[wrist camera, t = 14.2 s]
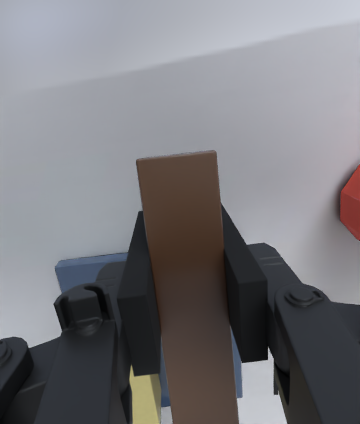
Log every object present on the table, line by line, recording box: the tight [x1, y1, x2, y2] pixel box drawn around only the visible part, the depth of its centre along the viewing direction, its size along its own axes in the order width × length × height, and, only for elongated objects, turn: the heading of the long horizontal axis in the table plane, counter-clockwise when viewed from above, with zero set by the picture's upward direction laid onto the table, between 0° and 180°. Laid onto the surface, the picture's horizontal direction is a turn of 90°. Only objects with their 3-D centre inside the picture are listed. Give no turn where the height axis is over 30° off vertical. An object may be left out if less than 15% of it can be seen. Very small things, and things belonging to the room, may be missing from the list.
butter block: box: [129, 365, 161, 424], centre depth 20 cm, size 8×4×3 cm, turn 6°
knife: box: [136, 150, 239, 424], centre depth 12 cm, size 20×2×4 cm, turn 6°
